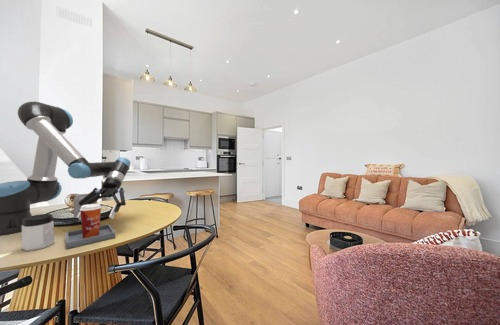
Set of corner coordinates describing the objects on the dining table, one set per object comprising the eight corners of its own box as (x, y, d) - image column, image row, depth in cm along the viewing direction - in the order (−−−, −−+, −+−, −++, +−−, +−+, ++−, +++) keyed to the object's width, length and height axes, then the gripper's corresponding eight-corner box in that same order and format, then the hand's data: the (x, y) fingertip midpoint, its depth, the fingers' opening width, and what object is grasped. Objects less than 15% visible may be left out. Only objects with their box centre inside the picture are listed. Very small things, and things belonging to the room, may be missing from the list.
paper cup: (89, 240, 82) (89, 208, 82) (74, 239, 83) (74, 206, 83) (106, 233, 90) (106, 203, 89) (92, 232, 91) (92, 202, 91)
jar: (37, 251, 74) (37, 220, 73) (15, 251, 73) (14, 220, 73) (59, 241, 83) (59, 213, 82) (39, 241, 82) (38, 213, 82)
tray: (66, 249, 75) (66, 243, 75) (65, 237, 86) (65, 232, 86) (115, 237, 87) (115, 232, 87) (109, 228, 97) (109, 223, 97)
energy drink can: (83, 219, 111) (83, 193, 111) (91, 220, 110) (90, 194, 109) (71, 222, 106) (70, 195, 105) (79, 223, 104) (78, 196, 104)
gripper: (140, 185, 107) (126, 221, 93) (91, 185, 104) (70, 222, 90) (136, 177, 102) (120, 213, 87) (84, 177, 99) (59, 215, 84)
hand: (94, 218), depth 89 cm, fingers open, 13 cm apart
